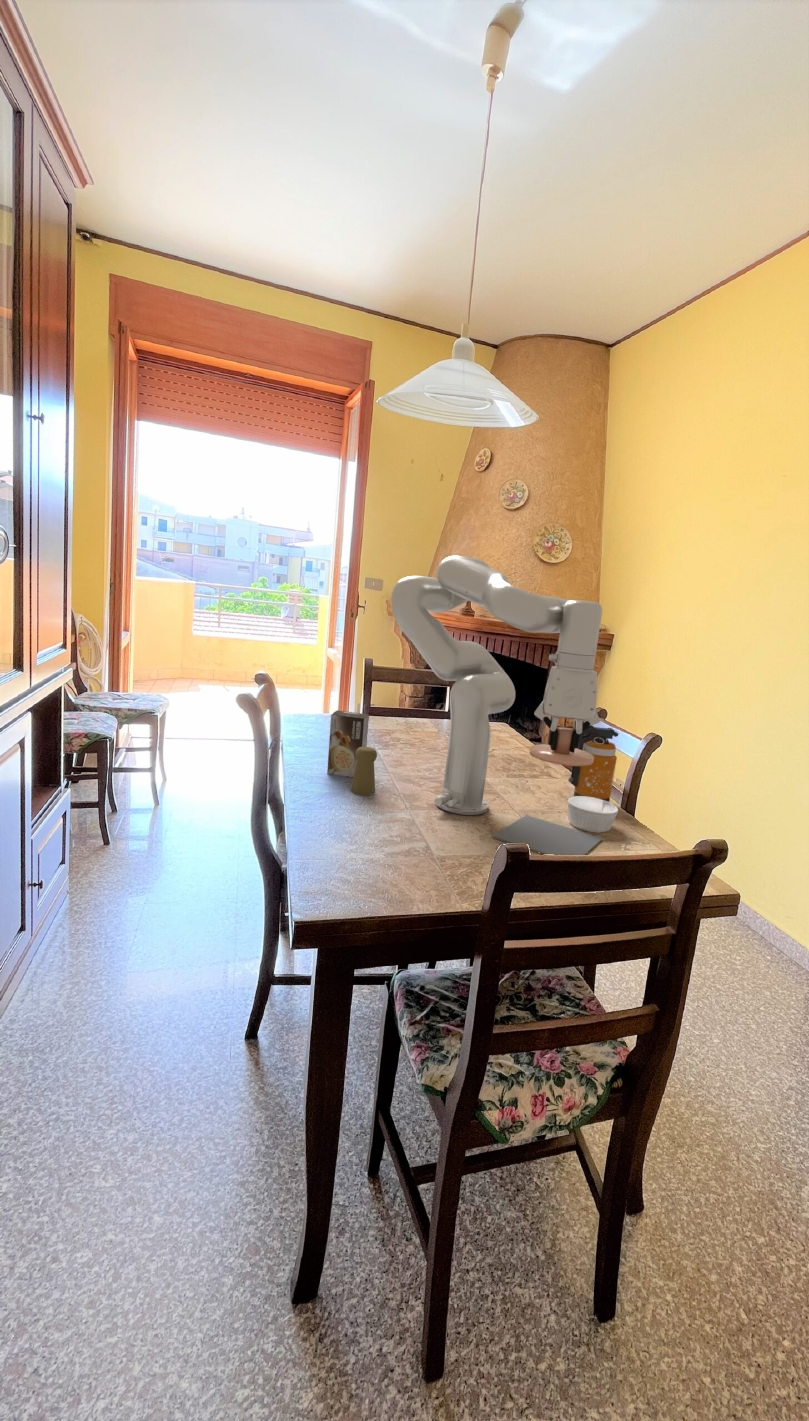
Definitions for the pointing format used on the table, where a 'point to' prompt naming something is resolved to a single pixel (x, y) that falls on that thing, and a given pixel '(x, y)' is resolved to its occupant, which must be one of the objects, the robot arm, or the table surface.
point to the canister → (595, 764)
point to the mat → (547, 837)
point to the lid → (562, 751)
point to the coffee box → (346, 741)
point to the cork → (364, 771)
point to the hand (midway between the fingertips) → (562, 749)
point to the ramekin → (591, 813)
